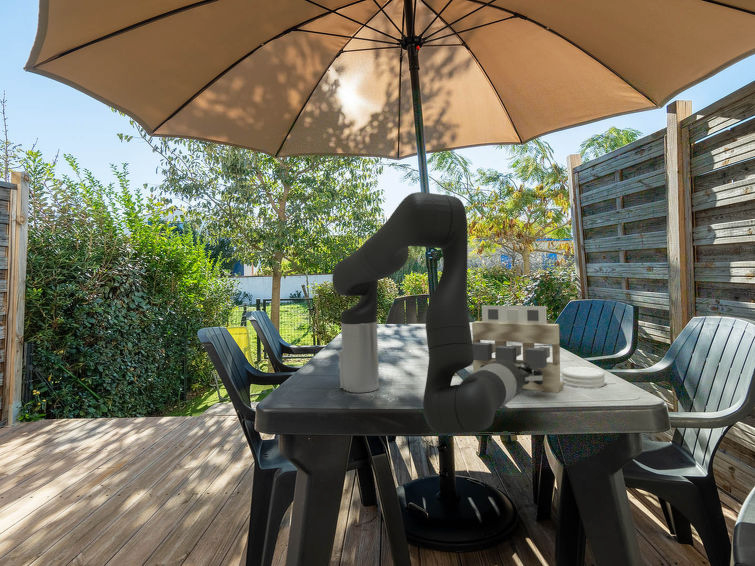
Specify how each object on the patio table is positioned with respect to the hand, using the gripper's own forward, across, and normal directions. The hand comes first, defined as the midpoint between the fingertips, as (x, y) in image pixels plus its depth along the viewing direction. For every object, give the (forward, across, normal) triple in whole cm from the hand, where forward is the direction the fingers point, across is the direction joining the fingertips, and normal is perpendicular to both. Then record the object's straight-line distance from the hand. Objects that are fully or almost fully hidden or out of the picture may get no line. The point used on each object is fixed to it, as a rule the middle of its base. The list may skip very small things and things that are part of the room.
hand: (523, 365), depth 97 cm
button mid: (+14, +7, +2) cm, 15 cm away
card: (+16, +7, -7) cm, 19 cm away
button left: (+16, +14, +2) cm, 21 cm away
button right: (+14, 0, +2) cm, 14 cm away
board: (+18, +7, +9) cm, 21 cm away
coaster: (+27, -7, +9) cm, 29 cm away
